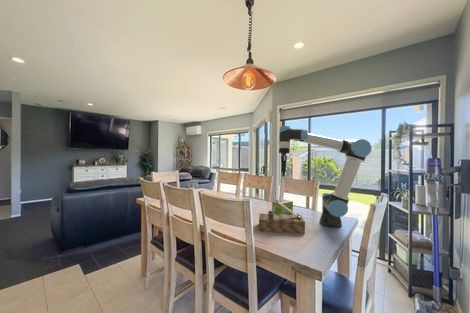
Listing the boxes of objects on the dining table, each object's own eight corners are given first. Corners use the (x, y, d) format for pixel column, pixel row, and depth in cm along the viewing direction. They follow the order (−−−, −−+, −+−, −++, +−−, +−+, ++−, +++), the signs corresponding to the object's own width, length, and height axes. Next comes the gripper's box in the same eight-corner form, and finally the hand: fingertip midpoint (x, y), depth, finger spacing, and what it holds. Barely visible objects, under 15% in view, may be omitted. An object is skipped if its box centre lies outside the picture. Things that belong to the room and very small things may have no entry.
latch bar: (298, 217, 146) (300, 215, 146) (299, 219, 142) (301, 217, 142) (274, 199, 148) (275, 198, 148) (274, 201, 144) (276, 199, 144)
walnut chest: (301, 225, 151) (301, 210, 151) (305, 233, 137) (305, 217, 137) (259, 223, 155) (259, 209, 154) (259, 231, 141) (259, 215, 140)
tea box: (281, 223, 156) (282, 203, 156) (271, 220, 164) (271, 201, 164) (293, 219, 166) (293, 200, 166) (282, 216, 174) (282, 198, 174)
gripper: (278, 147, 155) (277, 179, 156) (279, 147, 142) (278, 181, 143) (288, 148, 154) (287, 179, 155) (290, 147, 141) (289, 182, 142)
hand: (283, 180), depth 149 cm, fingers closed
